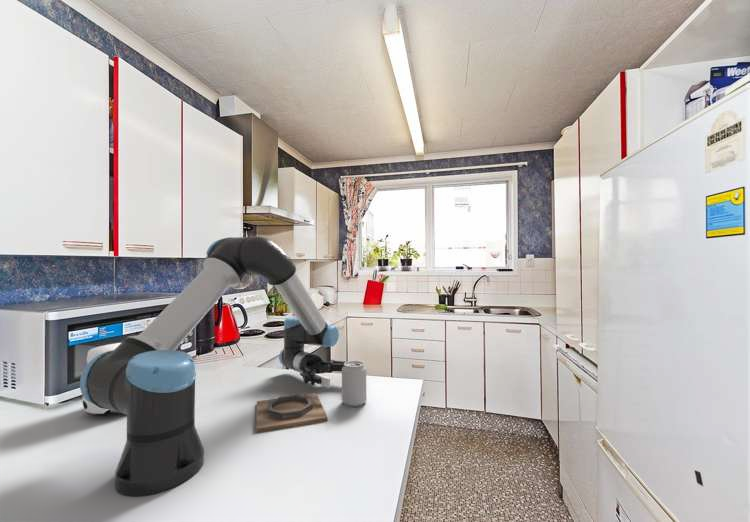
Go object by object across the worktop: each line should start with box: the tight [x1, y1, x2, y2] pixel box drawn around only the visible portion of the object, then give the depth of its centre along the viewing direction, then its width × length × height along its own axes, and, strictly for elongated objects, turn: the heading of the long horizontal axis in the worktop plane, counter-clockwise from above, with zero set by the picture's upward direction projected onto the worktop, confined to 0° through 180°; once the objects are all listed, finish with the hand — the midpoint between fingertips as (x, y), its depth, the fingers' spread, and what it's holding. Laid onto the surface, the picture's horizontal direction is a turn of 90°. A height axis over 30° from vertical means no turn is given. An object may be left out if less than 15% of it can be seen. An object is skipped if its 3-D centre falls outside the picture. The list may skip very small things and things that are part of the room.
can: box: [341, 360, 368, 407], centre depth 101 cm, size 8×8×12 cm
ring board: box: [255, 392, 329, 433], centre depth 94 cm, size 18×18×2 cm
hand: (346, 377), depth 104 cm, fingers open, 13 cm apart
